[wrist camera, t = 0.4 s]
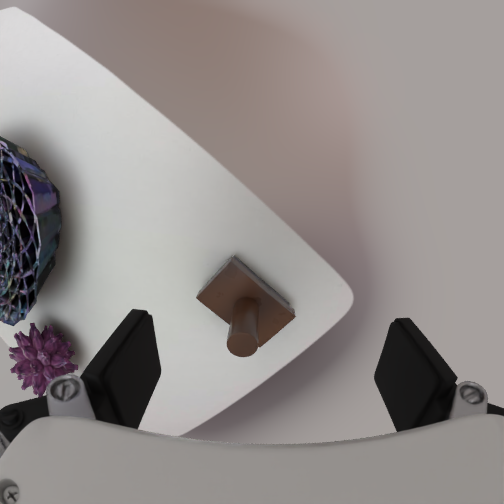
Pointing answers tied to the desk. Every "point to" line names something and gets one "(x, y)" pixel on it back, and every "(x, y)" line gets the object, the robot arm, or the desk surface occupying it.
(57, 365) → the flower
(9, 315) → the decorative bowl
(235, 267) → the stamp
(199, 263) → the desk surface
